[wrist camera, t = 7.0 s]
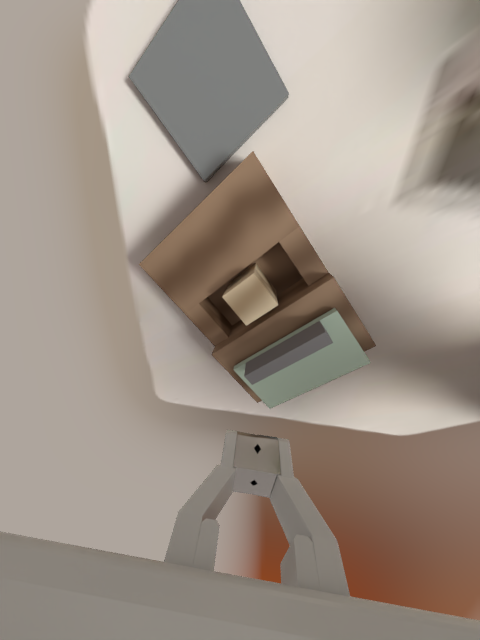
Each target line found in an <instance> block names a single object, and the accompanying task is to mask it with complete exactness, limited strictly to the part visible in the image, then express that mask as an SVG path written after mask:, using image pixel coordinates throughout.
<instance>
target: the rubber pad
mask: <svg viewBox="0 0 480 640" xmlns="http://www.w3.org/2000/svg"><path fill="white" fill-rule="evenodd" d="M129 78H130V79H131V80H132V82H133V83H134V85H135V86H136V87H137V89H138V90H139V92H140V93H141V94H142V96H143V97H144V98H145V100H146V101H147V103H148V104H149V105H150V107H151V108H152V110H153V111H154V112H155V114H156V115H157V117H158V118H159V119H160V121H161V122H162V123H163V125H164V126H165V128H166V129H167V130H168V132H169V133H170V135H171V136H172V137H173V139H174V140H175V141H176V143H177V144H178V146H179V147H180V148H181V150H182V151H183V153H184V154H185V155H186V157H187V158H188V160H189V161H190V162H191V164H192V165H193V166H194V168H195V169H196V171H197V172H198V173H199V175H200V176H201V178H202V179H203V180H204V181H205V182H207V181H208V180H209V179H210V178H211V177H212V176H213V175H214V173H215V172H216V171H217V170H218V169H219V168H220V167H221V166H222V165H223V164H224V163H225V162H226V161H227V160H228V159H229V158H230V157H231V156H232V155H233V154H234V153H235V152H236V151H237V150H238V149H239V148H240V147H241V146H242V145H243V144H244V143H245V142H246V141H247V140H248V139H249V137H250V136H251V135H252V134H253V133H254V132H255V131H256V130H257V129H258V128H259V127H260V126H261V125H262V124H263V123H264V122H265V121H266V120H267V119H268V118H269V117H270V116H271V115H272V114H273V113H274V112H275V111H276V110H277V109H278V108H279V107H280V106H281V105H282V104H283V103H284V102H285V100H286V99H287V98H288V95H289V93H288V91H287V89H286V87H285V85H284V83H283V81H282V80H281V78H280V76H279V74H278V72H277V70H276V68H275V66H274V64H273V63H272V61H271V59H270V57H269V55H268V53H267V51H266V49H265V47H264V46H263V44H262V42H261V40H260V38H259V36H258V34H257V32H256V30H255V29H254V27H253V25H252V23H251V21H250V19H249V17H248V15H247V13H246V12H245V10H244V8H243V6H242V4H241V2H240V0H178V2H177V3H176V5H175V6H174V8H173V10H172V11H171V13H170V14H169V16H168V17H167V19H166V20H165V22H164V23H163V25H162V26H161V28H160V29H159V31H158V32H157V34H156V36H155V37H154V39H153V40H152V42H151V43H150V45H149V46H148V48H147V49H146V51H145V52H144V54H143V55H142V57H141V58H140V60H139V62H138V63H137V65H136V66H135V68H134V69H133V71H132V72H131V74H130V75H129Z"/></svg>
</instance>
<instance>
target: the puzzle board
mask: <svg viewBox="0 0 480 640" xmlns="http://www.w3.org/2000/svg"><path fill="white" fill-rule="evenodd" d="M255 263H256V264H257V265H258V266H259V268H260V269H261V270H262V272H263V273H264V275H265V276H266V277H267V279H268V280H269V281H270V283H271V284H272V285H273V287H274V288H275V290H276V294H277V300H278V306H276V307H275V308H273V309H272V310H270V311H269V312H267V313H265V314H264V315H262V316H261V317H259V318H258V319H256V320H255V321H253V322H252V323H250V324H248V325H247V326H246V325H245V324H244V323H243V321H242V320H241V319H240V318H239V317H238V315H237V314H236V313H235V312H234V311H233V309H232V308H231V307H230V306H229V305H228V303H227V302H226V301H225V300H224V299H223V297H222V296H223V294H224V292H225V290H226V289H227V287H228V285H229V283H230V282H232V281H233V280H234V279H236V278H237V277H238V276H240V275H241V274H242V273H243V272H245V271H246V270H247V269H249V268H250V267H251V266H253V265H254V264H255ZM139 265H140V266H141V267H142V268H143V269H144V270H145V272H146V273H147V274H148V275H149V276H150V277H151V278H152V279H153V280H154V281H155V282H156V283H157V284H158V286H159V287H160V288H161V289H162V290H163V291H164V292H165V293H166V294H167V295H168V296H169V297H170V298H171V300H172V301H173V302H174V303H175V304H176V305H177V306H178V307H179V308H180V309H181V310H182V311H183V312H184V314H185V315H186V316H187V317H188V318H189V319H190V320H191V321H192V322H193V323H194V324H195V325H196V326H197V327H198V329H199V330H200V331H201V332H202V333H203V334H204V335H205V336H206V337H207V338H208V339H209V340H210V341H211V343H212V344H213V345H214V346H215V348H214V350H213V353H212V355H213V357H214V358H215V359H216V360H217V361H218V362H219V363H220V364H221V365H222V366H223V367H224V368H225V369H226V370H227V371H228V372H229V373H230V374H231V375H232V377H233V378H234V379H235V380H236V381H237V382H238V383H239V384H240V385H241V386H242V387H243V388H244V389H245V390H246V391H247V392H248V393H249V394H250V395H251V397H252V398H253V399H254V400H255V401H256V402H257V403H258V402H260V401H262V400H261V399H260V398H259V397H258V396H257V395H256V393H255V392H254V391H253V390H252V389H251V388H250V387H249V386H248V385H247V384H246V383H245V382H244V381H243V380H242V379H241V377H240V376H239V375H238V374H237V373H236V372H235V371H234V366H235V365H237V364H238V363H240V362H242V361H244V360H245V359H247V358H249V357H251V356H252V355H254V354H256V353H257V352H259V351H261V350H263V349H264V348H266V347H268V346H270V345H271V344H273V343H275V342H276V341H278V340H280V339H282V338H283V337H285V336H287V335H289V334H290V333H292V332H294V331H295V330H297V329H299V328H301V327H302V326H304V325H306V324H307V323H309V322H311V321H313V320H314V319H316V318H318V317H320V316H321V315H323V314H325V313H326V312H328V311H330V310H332V309H333V308H336V310H337V311H338V313H339V314H340V316H341V317H342V319H343V320H344V322H345V323H346V325H347V326H348V328H349V330H350V331H351V333H352V334H353V336H354V337H355V339H356V340H357V342H358V343H359V345H360V347H361V348H362V350H363V351H366V350H368V349H371V348H373V347H375V346H376V345H375V343H374V341H373V340H372V338H371V337H370V335H369V333H368V332H367V330H366V328H365V327H364V325H363V324H362V322H361V320H360V319H359V317H358V315H357V314H356V312H355V311H354V309H353V307H352V306H351V304H350V303H349V301H348V299H347V298H346V296H345V294H344V293H343V291H342V290H341V288H340V286H339V285H338V283H337V282H336V280H335V278H334V277H333V276H332V275H331V274H329V273H328V271H327V269H326V268H325V266H324V265H323V263H322V261H321V260H320V258H319V257H318V255H317V253H316V252H315V250H314V248H313V247H312V245H311V244H310V242H309V240H308V239H307V237H306V236H305V234H304V232H303V231H302V229H301V228H300V226H299V224H298V223H297V221H296V220H295V218H294V216H293V215H292V213H291V212H290V210H289V208H288V207H287V205H286V203H285V202H284V200H283V199H282V197H281V195H280V194H279V192H278V191H277V189H276V187H275V186H274V184H273V183H272V181H271V179H270V178H269V176H268V175H267V173H266V171H265V170H264V168H263V166H262V165H261V163H260V162H259V160H258V158H257V157H256V155H255V154H254V152H252V153H251V154H250V155H249V156H248V157H247V158H246V159H245V160H244V161H243V162H242V163H240V164H239V165H238V166H237V167H236V168H235V169H234V170H233V171H232V172H231V173H230V174H229V175H228V176H227V177H226V178H225V179H224V180H223V181H222V182H221V183H220V184H219V185H218V186H217V187H216V188H215V189H214V190H213V191H212V192H211V193H210V194H209V195H208V196H207V197H206V198H205V199H204V200H203V201H202V202H201V203H200V204H199V205H198V206H197V207H196V208H195V209H194V210H193V211H192V212H191V213H190V214H189V215H188V216H187V217H186V218H185V219H184V220H183V221H182V222H181V223H180V224H179V225H178V226H177V227H176V228H175V229H174V230H173V231H172V232H171V233H170V234H169V235H168V236H167V237H166V238H165V239H164V240H163V241H162V242H161V243H160V244H159V245H158V246H157V247H156V248H155V249H154V250H153V251H152V252H151V253H150V254H149V255H148V256H147V257H146V258H145V259H144V260H143V261H142V262H141V263H140V264H139Z"/></svg>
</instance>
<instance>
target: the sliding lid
mask: <svg viewBox="0 0 480 640" xmlns="http://www.w3.org/2000/svg"><path fill="white" fill-rule="evenodd" d="M369 363H371V362H370V360H369V359H368V357H367V356H366V354H365V353H364V351H363V350H362V348H361V347H360V345H359V343H358V342H357V340H356V339H355V337H354V336H353V334H352V333H351V331H350V330H349V328H348V326H347V325H346V323H345V322H344V320H343V319H342V317H341V316H340V314H339V313H338V311H337V310H336V308H333V309H332V310H330V311H328V312H326V313H325V314H323V315H321V316H320V317H318V318H316V319H314V320H313V321H311V322H309V323H307V324H306V325H304V326H302V327H301V328H299V329H297V330H295V331H294V332H292V333H290V334H289V335H287V336H285V337H283V338H282V339H280V340H278V341H276V342H275V343H273V344H271V345H270V346H268V347H266V348H264V349H263V350H261V351H259V352H257V353H256V354H254V355H252V356H251V357H249V358H247V359H245V360H244V361H242V362H240V363H238V364H237V365H235V366H234V371H235V372H236V373H237V374H238V375H239V376H240V377H241V379H242V380H243V381H244V382H245V383H246V384H247V385H248V386H249V387H250V388H251V389H252V390H253V391H254V392H255V393H256V395H257V396H258V397H259V398H260V399H261V400H262V401H263V402H264V403H265V404H266V405H267V406H268V407H269V408H273V407H275V406H277V405H279V404H281V403H283V402H286V401H288V400H290V399H292V398H294V397H297V396H299V395H301V394H303V393H305V392H308V391H310V390H312V389H314V388H316V387H319V386H321V385H323V384H325V383H327V382H330V381H332V380H334V379H336V378H338V377H341V376H343V375H345V374H347V373H349V372H352V371H354V370H356V369H358V368H360V367H363V366H365V365H367V364H369Z"/></svg>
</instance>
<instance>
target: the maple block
mask: <svg viewBox="0 0 480 640" xmlns="http://www.w3.org/2000/svg"><path fill="white" fill-rule="evenodd" d="M222 297H223V299H224V300H225V301H226V302H227V303H228V305H229V306H230V307H231V308H232V309H233V311H234V312H235V313H236V314H237V315H238V317H239V318H240V319H241V320H242V321H243V323H244V324H245V325H246V326H247V325H248V324H250V323H252V322H253V321H255V320H256V319H258V318H259V317H261V316H262V315H264V314H265V313H267V312H269V311H270V310H272V309H273V308H275V307H276V306H278V300H277V294H276V290H275V288H274V287H273V285H272V284H271V283H270V281H269V280H268V279H267V277H266V276H265V275H264V273H263V272H262V270H261V269H260V268H259V266H258V265H257V264H256V263H255V264H254V265H253V266H251V267H250V268H249V269H247V270H246V271H245V272H243V273H242V274H241V275H240V276H238V277H237V278H236V279H234V280H233V281H232V282H230V283H229V285H228V287H227V289H226V290H225V292H224V294H223V296H222Z"/></svg>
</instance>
